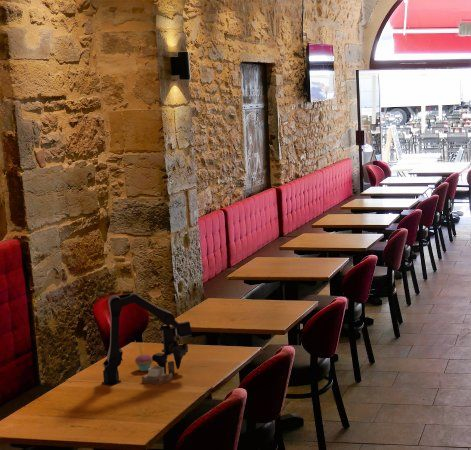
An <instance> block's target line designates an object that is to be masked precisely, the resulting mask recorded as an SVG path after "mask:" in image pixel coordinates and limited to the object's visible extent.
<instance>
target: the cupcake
mask: <svg viewBox="0 0 471 450" xmlns="http://www.w3.org/2000/svg"><path fill="white" fill-rule="evenodd" d="M139 351H140V355H138V356H137V357H135V359H134V361H135V364H136V365H137V367H138V369H139V371H141V372H147V371H148V369H149V368H151V365H152V363H153V362H154V361H152V356H151V355H150V354H143V349H142V346H141V345H139Z"/></svg>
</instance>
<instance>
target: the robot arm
mask: <svg viewBox="0 0 471 450" xmlns="http://www.w3.org/2000/svg"><path fill="white" fill-rule="evenodd" d="M132 304H135V305H137V306H139V307H140V308H142V309H143V310H145V311H147V312H149V313H150V314H151V315H154V316H155V317H156V318H157V319H158V320H160V321H161V324H160V325H159V326H158V327H157V329H158V331H160V332H161V333H162V340H161V341H160V342H161V344H162V345H163V347H162V348H163V349H161V352H162V353H161V352H157V353H155V354H153V355H152V356H151V357H152V361H153V362H155V363H156V364H157V366H160V367H164V375H167V364H168V357H170V356H173V359H174V365H175V367H176V369H177V370H179V369H180V366H181V362H182V360H183V357H184V356H186V354H187V353H189V347H188V343H186V342H185V343H182V344H179V341H178V339H176V336H178V337H179V338H184V337H185V338H186V337H192V333H193V332H192V331H193V330H192V328H191V323H190V322H191V321H189V320H188V321H184V322H183V321H181V322H178V321H177V320H176V318H175V316H174V314H173V313H172V312H171V311H169V310H167V309H165V308H162V307H158V306H156V305H155V304H154V303H152V302H150V301H149V300H146V299H145V298H143V297H141V296H140V295H139V294H137V293H136V292H130V293H125V294H119V295H117V294H113V295H110V296H109V297H108V308H109V309H108V310H109V313H110V325H109V327H110V329H109V330H110V332H109V333H110V334H109V335H110V336H109V347H108V350H107V356H106V359H105V360H104V361H103V363H102V366H103V368H104V369H103V371H102V376H103V381H102V382H101V384H104V385H107V386H114V385H116V384H118V383H121V382H122V380H121V379H120V376H119V373H120V372H119V370H118V367H119V366H121V364H122V361H124V359H123V354H124V352H123V350H122V348H120V344H119V343H120V316H121V314H122V309H123V307H126V306H129V305H132ZM163 324H164V325H163Z"/></svg>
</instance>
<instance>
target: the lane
mask: <svg viewBox="0 0 471 450" xmlns="http://www.w3.org/2000/svg"><path fill="white" fill-rule="evenodd" d="M173 376H174V375H173V374H172V373H170V374H169V373H168V374H167V373H166V374H164V376H162V377H160V378H158V379H156V378H151V377H149V373H148V374H146V375H143V376H141V382H142V383H144V384H149V385H153V386H159V385H162V384H163V383H167V382H169V381H171V380H173V379H174V378H173Z"/></svg>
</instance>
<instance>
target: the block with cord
mask: <svg viewBox="0 0 471 450" xmlns="http://www.w3.org/2000/svg"><path fill="white" fill-rule="evenodd" d="M167 369H168V370H167V371H168V372H167V373H168V374H170V373H172V374H173V376H175V373H176V371H175V360H174V361H173V360H169V361H167ZM147 371H148V372H147V373H148V374H149V377H151V378H156V379H158V378H160V377H162V376H165V374H164V367H160V366H159V365H154V366H150V368H149V369H148V370H147Z"/></svg>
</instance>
